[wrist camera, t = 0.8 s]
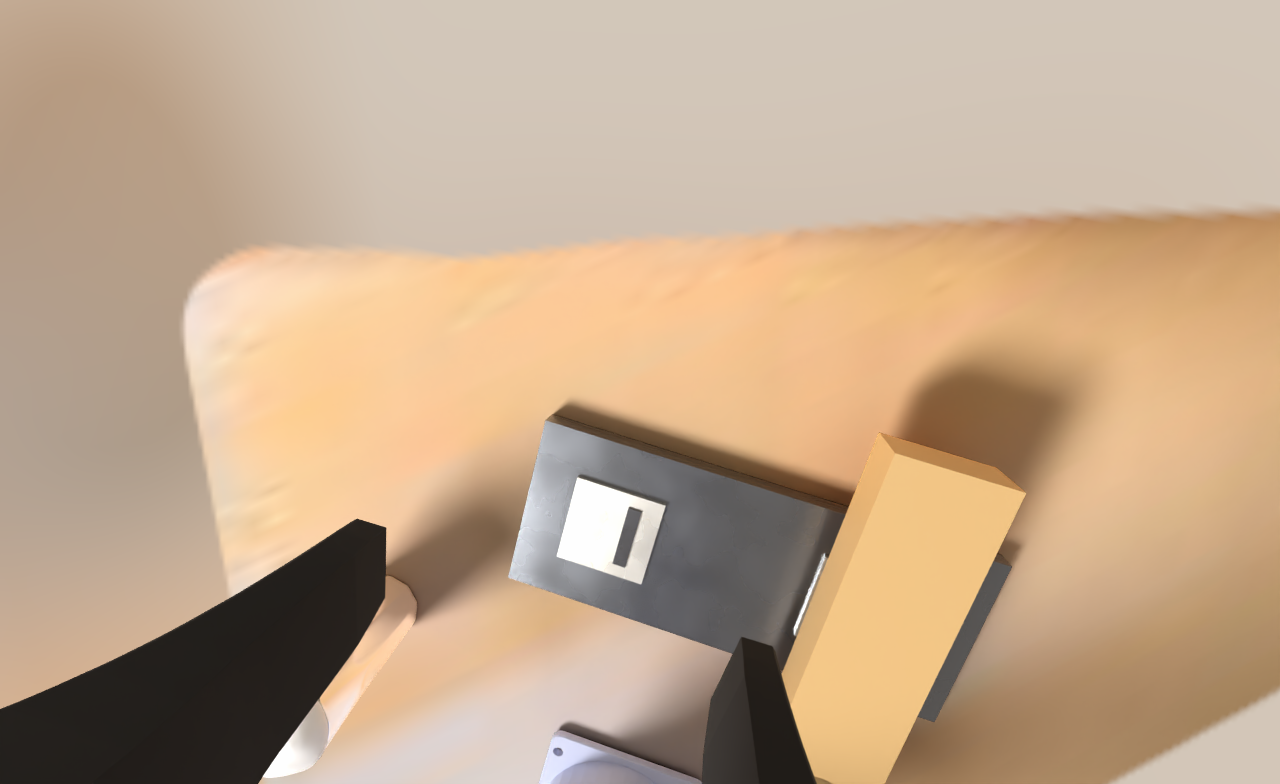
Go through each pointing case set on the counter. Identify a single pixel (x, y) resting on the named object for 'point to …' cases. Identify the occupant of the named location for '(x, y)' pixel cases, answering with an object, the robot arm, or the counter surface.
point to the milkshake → (349, 682)
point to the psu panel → (689, 545)
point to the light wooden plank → (892, 603)
